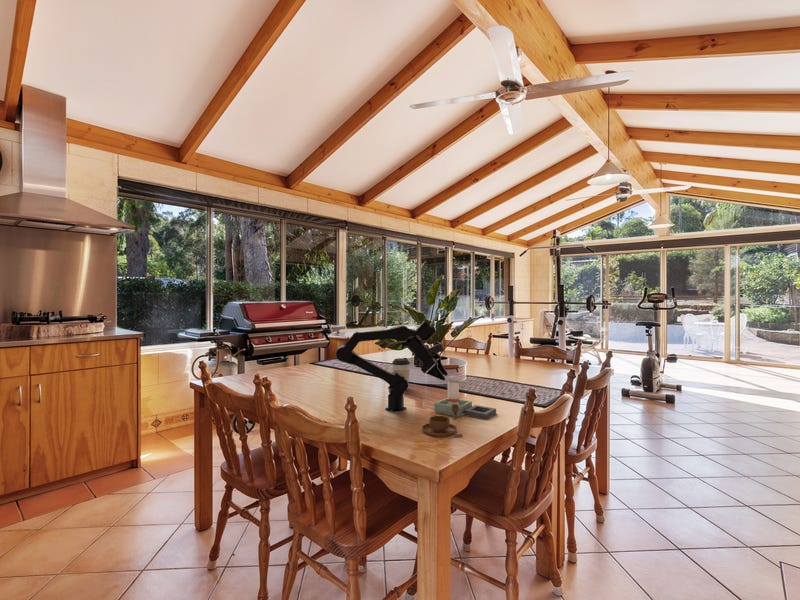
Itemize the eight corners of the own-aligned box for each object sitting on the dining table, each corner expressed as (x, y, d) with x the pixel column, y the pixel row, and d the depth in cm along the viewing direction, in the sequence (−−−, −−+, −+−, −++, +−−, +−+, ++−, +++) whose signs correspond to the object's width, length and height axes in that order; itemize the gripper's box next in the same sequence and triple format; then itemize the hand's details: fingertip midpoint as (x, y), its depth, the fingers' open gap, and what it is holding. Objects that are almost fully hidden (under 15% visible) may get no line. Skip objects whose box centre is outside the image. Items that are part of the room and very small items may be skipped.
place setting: (410, 428, 143) (410, 411, 143) (454, 419, 153) (454, 403, 153) (440, 443, 128) (440, 425, 128) (487, 432, 138) (487, 415, 138)
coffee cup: (399, 391, 194) (399, 360, 194) (388, 388, 201) (388, 358, 201) (413, 388, 200) (413, 358, 199) (402, 385, 207) (402, 356, 206)
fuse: (455, 411, 158) (455, 378, 158) (444, 409, 161) (444, 377, 161) (461, 408, 162) (461, 376, 162) (451, 406, 165) (450, 375, 165)
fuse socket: (486, 419, 150) (486, 414, 150) (464, 415, 156) (464, 410, 156) (496, 413, 157) (496, 408, 157) (475, 409, 163) (475, 404, 163)
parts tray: (458, 416, 154) (458, 407, 154) (434, 411, 161) (434, 403, 161) (471, 410, 163) (471, 401, 163) (448, 405, 169) (448, 397, 169)
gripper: (429, 338, 154) (458, 368, 152) (435, 333, 172) (461, 360, 170) (409, 358, 156) (437, 388, 153) (417, 351, 174) (443, 377, 172)
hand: (445, 377), depth 162 cm, fingers open, 9 cm apart
